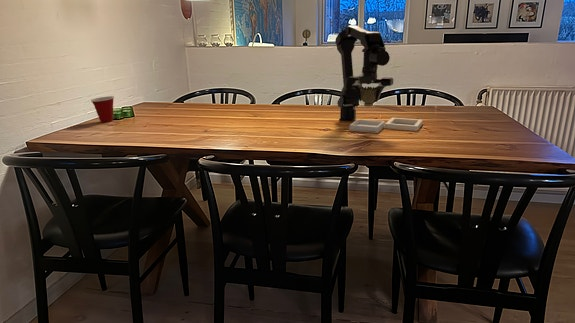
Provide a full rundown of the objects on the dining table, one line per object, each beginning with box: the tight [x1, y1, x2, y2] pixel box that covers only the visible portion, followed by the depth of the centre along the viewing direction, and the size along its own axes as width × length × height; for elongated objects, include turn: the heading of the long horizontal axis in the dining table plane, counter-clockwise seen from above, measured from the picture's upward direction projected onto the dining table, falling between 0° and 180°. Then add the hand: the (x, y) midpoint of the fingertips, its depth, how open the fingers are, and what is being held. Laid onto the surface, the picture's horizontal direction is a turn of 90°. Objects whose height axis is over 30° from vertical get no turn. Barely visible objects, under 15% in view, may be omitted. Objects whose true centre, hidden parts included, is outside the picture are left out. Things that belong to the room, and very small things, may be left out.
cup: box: [360, 85, 377, 108], centre depth 167 cm, size 8×7×8 cm
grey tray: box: [348, 118, 386, 134], centre depth 171 cm, size 12×12×2 cm
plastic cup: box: [90, 95, 115, 124], centre depth 197 cm, size 11×11×12 cm
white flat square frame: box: [384, 117, 423, 132], centre depth 174 cm, size 14×14×2 cm
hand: (368, 101), depth 168 cm, fingers closed on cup, 6 cm apart
